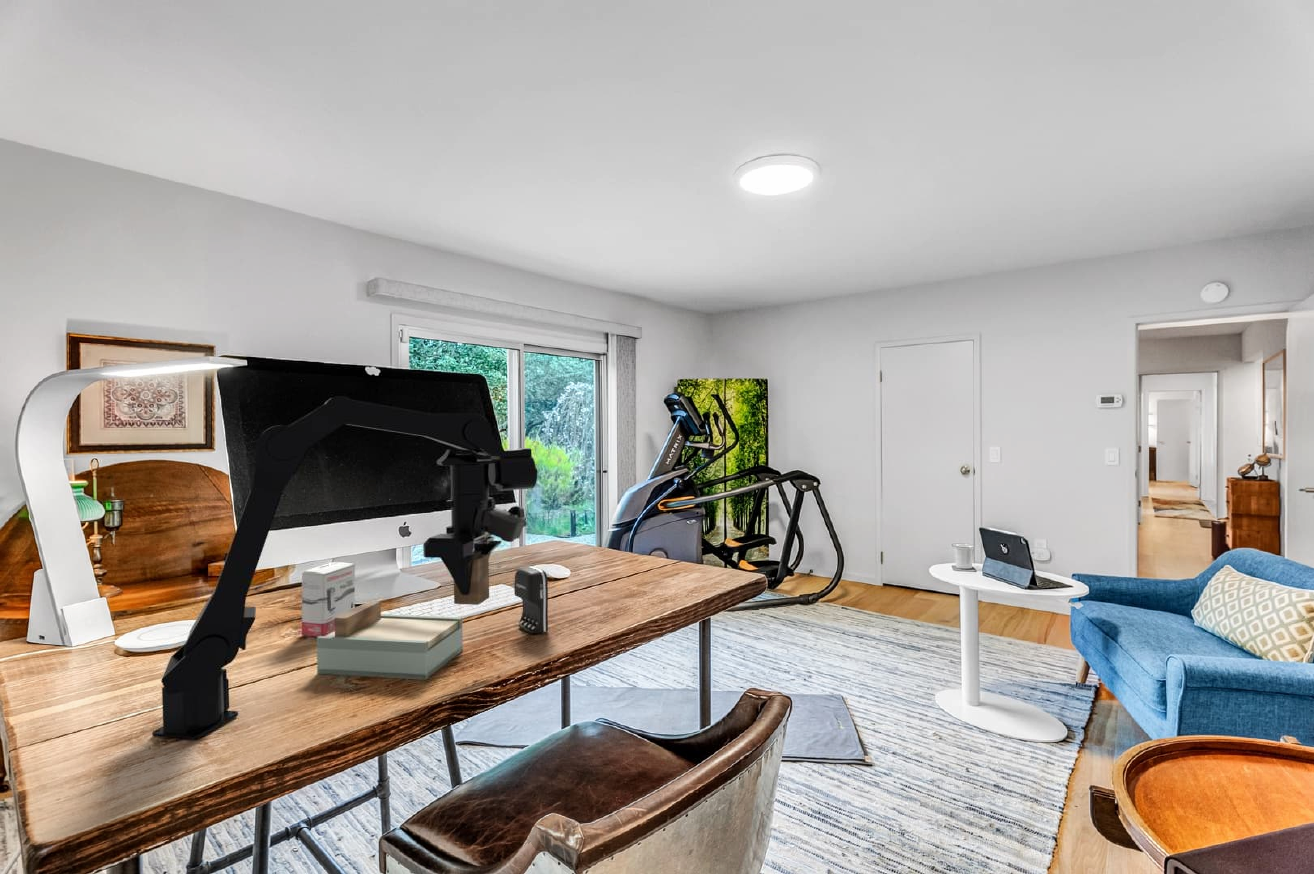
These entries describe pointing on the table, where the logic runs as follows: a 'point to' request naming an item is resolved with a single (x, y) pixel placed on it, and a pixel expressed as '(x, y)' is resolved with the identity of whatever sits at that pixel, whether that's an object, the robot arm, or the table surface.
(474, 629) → the table surface
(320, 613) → the ink box
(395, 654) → the pale green tray
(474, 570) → the small brown rectangular block
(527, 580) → the black handheld device
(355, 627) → the lid
